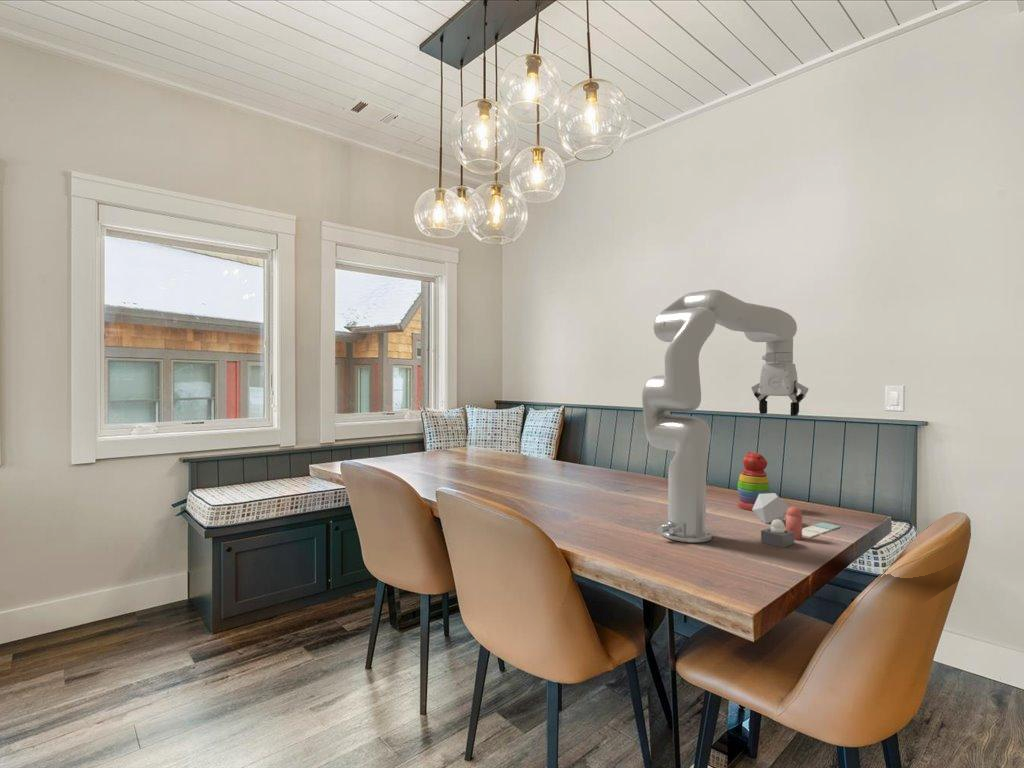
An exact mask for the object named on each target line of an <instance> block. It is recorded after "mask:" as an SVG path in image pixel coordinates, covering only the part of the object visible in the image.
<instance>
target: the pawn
mask: <svg viewBox="0 0 1024 768" xmlns="http://www.w3.org/2000/svg"><path fill="white" fill-rule="evenodd" d="M802 528H803V513H802V510H801V508H800V507H798V506H789V508H788V509H787V512H786V514H785V530H788V531H792V532H794V541H800V540H803V536H802Z"/></svg>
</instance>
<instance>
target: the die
mask: <svg viewBox="0 0 1024 768" xmlns="http://www.w3.org/2000/svg"><path fill="white" fill-rule="evenodd" d="M789 507H790V506H789V505H788V504H787V503H786V501H784V499H782V498H781V497H780V496H779V495H778V494H777V493H776V492H769V493H765V494H759V495H758V497H757V500H756V502H755V504H754V506H753V509H752V510H751V511H753V513H754V514H755V515H756V516H757V517H758V518H760V520H761V521H762V522H763V523H765V524H767V525H768V524H771V522H772V521H773V520H775V519H779V520H781V521H782V522H784V521H783V520H784V519H785V518H786V512H787V509H788V508H789Z"/></svg>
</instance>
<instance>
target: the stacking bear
mask: <svg viewBox="0 0 1024 768" xmlns="http://www.w3.org/2000/svg"><path fill="white" fill-rule="evenodd" d="M742 462H743V463H742V464H743V467H744V469H743V470H742V471H741V473H740V474H739V478H738V482H737V493H738V498H739V501H738V503H737V506H738V508H740V509H742V510H746V511H752V509H753V506H754V504H755V502H756V500H757V497H758V495H759V494H765V493H770V483H769V477H768V476H767V472H766V471H765V469H766V467H767V466H768V461H767V460H766V459H765V457H764V456H763V455H762V454H761V453H759V452H752V451H747V452H746V454H745V456H744V457H743V460H742Z"/></svg>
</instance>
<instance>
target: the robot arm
mask: <svg viewBox="0 0 1024 768" xmlns="http://www.w3.org/2000/svg"><path fill="white" fill-rule="evenodd" d="M716 325H719V326H721V327H723V328H726V329H727V330H730V331H733V332H734V331H735V332H741V333H744V336H745V337H746V338H747V340H749V341H750V342H754V343H765V355H762V357H761V360H763V361H764V362H765V363H763V364H762V366H761V367H762V368H761V370H760V376H759V383H757V384H755V385H752V386H751V391H752V393H753V395H754V396H755V398H756V399H757V401H758V403H759V404H758V405H759V406H758V410H759V414H760V415H763V414H765V415H766V414H768V400H767V399H768V398H769V397H771V396H773V397H777V396H778V397H788V398H789V399H790V400H791V401H792V402H790V416H791V417H797V416H798V415H799V412H800V403H801V402H802V400H804V398H806V394H808V391H809V387H807V386H805V385H803V384H801V383H799V382H798V372H797V368H796V367H797V366H796V363H794V361H793V360H794V337H795V336H796V334H797V330H798V326H797V322H796V319H794V317H793V316H792V315H791V314H789V313H787V312H786V311H784V310H782V309H781V308H777V307H772V306H766V305H760V304H756V303H749V302H745V301H743V300H741V299H739V298H738V297H735V296H732V295H731V294H729V293H727V292H725V291H723V290H720V289H708V290H699V291H692V292H689V293H686V294H684V295H682V296H681V297H679V298H678V299H676V300H675V301H674V302H672V303H671V304H670V305H668V306H667V307H666V308H664V309H663V310H661V311H660V312H659V313H658V314H657V316H656V317H655V320H654V323H653V333H654V335H655V337H656V338H657V339H658V340H660V341H662V342H666V343H669V345H668V347H667V349H666V351H665V354H664V374H663V375H654V376H652V377H650V378H648V379H647V380H646V381H645V384H644V386H643V388H642V393H641V402H642V412H643V413H642V414H643V423H644V424H643V425H644V431H645V436H646V439H647V442H648V443H649V444H650V446H651V447H654V448H656V449H660V450H665V451H667V450H668V451H673V452H675V454H674V455H673V458H671V461H670V462H669V466H668V471H667V472H668V473H667V474H668V480H667V484H668V486H667V489H668V490H667V491H668V492H667V493H668V495H667V496H668V497H667V503H668V504H667V518H666V519H665V523H664V524H661V525H658V526H657V527H656V531H657V532H658V534H661V535H662V536H664V537H665V538H667V539H669V540H673V541H677V542H683V543H692V544H693V543H705V542H709V541H711V540H712V538H713V534H712V532H711V531H710V530H708V529H707V526H706V525H707V524H706V522H707V519H706V518H707V461H708V460H707V459H708V453H709V448H710V444H711V439H712V437H711V436H712V432H711V428H710V425H709V424H708V422H706V421H705V420H704V419H702V418H700V417H697V416H689V415H677V414H676V415H674V414H673V415H672V414H671V412H682V413H683V412H685V413H687V412H692V411H693V412H694V411H695V410H697V409H698V408H699V407H700V405H701V402H702V390H701V389H702V388H701V387H702V386H701V378H700V377H701V376H700V364H699V363H700V362H699V361H700V359H699V358H700V353H701V351H702V348H703V346H704V344H705V343H706V341H707V340H708V338H709V337H710V336H711V335H712V334H713V332H714V329H715V327H716ZM799 390H800V393H799V394H798V391H799Z"/></svg>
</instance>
